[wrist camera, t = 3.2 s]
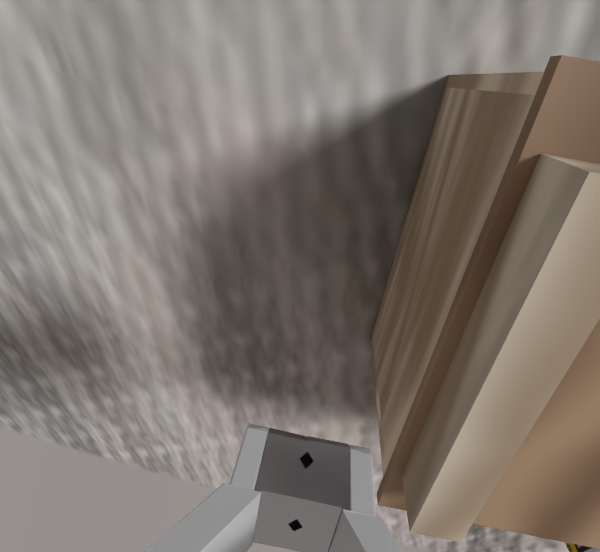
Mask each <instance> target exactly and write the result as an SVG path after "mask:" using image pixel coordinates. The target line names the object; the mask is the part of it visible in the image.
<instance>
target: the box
mask: <svg viewBox="0 0 600 552" xmlns="http://www.w3.org/2000/svg"><path fill="white" fill-rule="evenodd" d="M543 74H544V72H524V73H495V74H465V75H448V77H447V81H446V84H445V88H444V91H443V94H442V98H441V101H440V104H439V108H438V111H437V115H436V118H435V121H434V125H433V128H432V132H431V135H430V138H429V142H428V145H427V148H426V152H425V155H424V159H423V162H422V165H421V169H420V172H419V175H418V179H417V182H416V186H415V189H414V192H413V196H412V199H411V202H410V206H409V209H408V213H407V216H406V219H405V223H404V226H403V229H402V233H401V236H400V240H399V243H398V246H397V250H396V253H395V256H394V260H393V263H392V267H391V270H390V273H389V277H388V280H387V284H386V287H385V290H384V294H383V297H382V300H381V304H380V307H379V311H378V314H377V317H376V321H375V324H374V327H373V331H372V334H371V338H370V340H371V351H372V361H373V372H374V382H375V393H376V403H377V414H378V425H379V435H380V446H381V456H382V467H383V476H384V474H385V471H386V469H387V466H388V464H389V461H390V459H391V456H392V454H393V451H394V449H395V446H396V444H397V441H398V439H399V436H400V434H401V431H402V429H403V426H404V424H405V421H406V419H407V416H408V414H409V411H410V409H411V406H412V404H413V401H414V399H415V396H416V394H417V391H418V388H419V386H420V383H421V381H422V378H423V376H424V373H425V371H426V368H427V366H428V363H429V361H430V358H431V356H432V353H433V351H434V348H435V346H436V343H437V341H438V338H439V336H440V333H441V331H442V328H443V326H444V323H445V321H446V318H447V316H448V313H449V311H450V308H451V306H452V303H453V301H454V298H455V295H456V293H457V290H458V288H459V285H460V283H461V280H462V278H463V275H464V273H465V270H466V268H467V265H468V263H469V260H470V258H471V255H472V253H473V250H474V248H475V245H476V243H477V240H478V238H479V235H480V233H481V230H482V228H483V225H484V223H485V220H486V218H487V215H488V213H489V210H490V207H491V205H492V202H493V200H494V197H495V195H496V192H497V190H498V187H499V185H500V182H501V180H502V177H503V175H504V172H505V170H506V167H507V165H508V162H509V160H510V157H511V155H512V152H513V150H514V147H515V145H516V142H517V140H518V137H519V135H520V132H521V130H522V127H523V125H524V122H525V120H526V117H527V114H528V112H529V109H530V107H531V104H532V102H533V99H534V97H535V94H536V92H537V89H538V87H539V84H540V82H541V79H542V77H543Z"/></svg>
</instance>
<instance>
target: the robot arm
mask: <svg viewBox="0 0 600 552" xmlns="http://www.w3.org/2000/svg"><path fill="white" fill-rule="evenodd" d="M252 542H255V543H260V544H265V545H270V546H275V547H281V548H286V549H289V548H290V549H291V550H295V551H299V552H403V551H402V549H401V548H400V546H399V545H398V543H397V541H396V540H395V538H394V536H393V535H392V533H391V532H390V530H389V528H388V527H387V525H386V524H385V522H384V520H383V519H382V518H381V517H377V516H375V502H374V486H373V469H372V453H371V451H370V449H368V448H363V447H359V446H354V445H348V444H346V443H341V442H335V441H330V440H325V439H320V438H315V437H310V436H309V437H307V436H302V435H298V434H294V433H290V432H286V431H281V430H277V429H273V428H270V429H269V428H268V427H263V426H259V425H255V424H250V423H249V425H248V427H247V429H246V432H245V435H244V439H243V442H242V445H241V449H240V452H239V455H238V458H237V462H236V465H235V468H234V471H233V475H232V478H231V481H230V485H229V484H222V485H221V486H220V487H219V488H217V489H216V490H215V491H214V492H213V493H212V494H211V495H209V496H208V497H207V498H206V499H205V500H204V501H203V502H201V503H200V504H199V505H198V506H197V507H196V508H194V509H193V510H192V511H191V512H190V513H189V514H188V515H186V516H185V517H184V518H183V519H182V520H181V521H180V522H178V523H177V524H176V525H175V526H174V527H173V528H172V529H170V530H169V531H168V532H167V533H166V534H165V535H164V536H162V537H161V538H160V539H159V540H158V541H157V542H156V543H154V544H153V545H152V546H151V547H150V548H149V549H148V550H146V551H145V552H247V551H248V549H249V548H250V547H251V546H252Z"/></svg>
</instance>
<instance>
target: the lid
mask: <svg viewBox="0 0 600 552" xmlns="http://www.w3.org/2000/svg"><path fill="white" fill-rule="evenodd" d="M377 499H378V505H381V506H386V507H391V508H396V509H401V510H406V511H407V516H408V523H409V530H410V532H412V533H417V534H422V535H427V536H432V537H437V538H442V539H447V540H452V541H457V542H461V541H462V540H463V538H464V537H465V535H466V533H467V532H468V530H469V529H470V527H471V525H472V524H477V525H482V526H487V527H492V528H497V529H502V530H507V531H512V532H517V533H522V534H527V535H532V536H537V537H542V538H547V539H552V540H557V541H562V542H567V543H572V544H577V545H582V546H587V547H592V548H597V549H600V62H597V61H591V60H585V59H580V58H574V57H568V56H562V55H561V56H552V57H550V59H549V62H548V64H547V67H546V69H545V72H544V74H543V77H542V79H541V82H540V84H539V87H538V89H537V92H536V94H535V97H534V99H533V102H532V104H531V107H530V109H529V112H528V114H527V117H526V120H525V122H524V125H523V127H522V130H521V132H520V135H519V137H518V140H517V142H516V145H515V147H514V150H513V152H512V155H511V157H510V160H509V162H508V165H507V167H506V170H505V172H504V175H503V177H502V180H501V182H500V185H499V187H498V190H497V192H496V195H495V197H494V200H493V202H492V205H491V207H490V210H489V213H488V215H487V218H486V220H485V223H484V225H483V228H482V230H481V233H480V235H479V238H478V240H477V243H476V245H475V248H474V250H473V253H472V255H471V258H470V260H469V263H468V265H467V268H466V270H465V273H464V275H463V278H462V280H461V283H460V285H459V288H458V290H457V293H456V295H455V298H454V301H453V303H452V306H451V308H450V311H449V313H448V316H447V318H446V321H445V323H444V326H443V328H442V331H441V333H440V336H439V338H438V341H437V343H436V346H435V348H434V351H433V353H432V356H431V358H430V361H429V363H428V366H427V368H426V371H425V373H424V376H423V378H422V381H421V383H420V386H419V388H418V391H417V394H416V396H415V399H414V401H413V404H412V406H411V409H410V411H409V414H408V416H407V419H406V421H405V424H404V426H403V429H402V431H401V434H400V436H399V439H398V441H397V444H396V446H395V449H394V451H393V454H392V456H391V459H390V461H389V464H388V466H387V469H386V471H385V474H384V476H383V479H382V482H381V484H380V487H379V489H378V492H377Z"/></svg>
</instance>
